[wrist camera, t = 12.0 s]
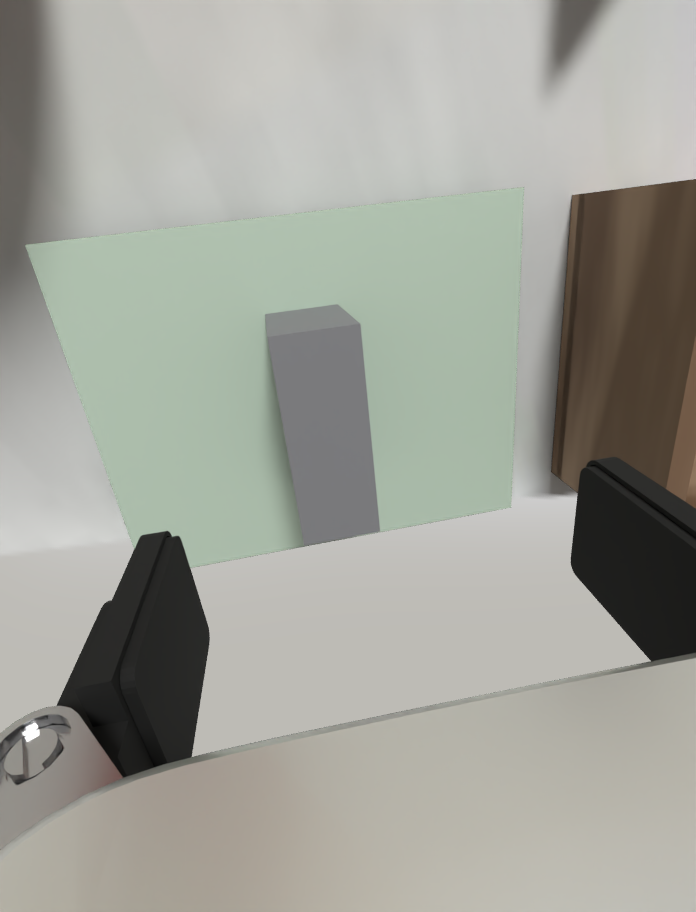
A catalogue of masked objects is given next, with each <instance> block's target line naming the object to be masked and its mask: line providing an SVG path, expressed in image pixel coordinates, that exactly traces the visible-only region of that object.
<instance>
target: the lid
mask: <svg viewBox="0 0 696 912" xmlns="http://www.w3.org/2000/svg"><path fill="white" fill-rule="evenodd" d="M523 200H524V187H520V188H512V189H503V190H494V191H486V192H477V193H468V194H460V195H451V196H442V197H434V198H425V199H416V200H408V201H399V202H390V203H382V204H373V205H364V206H356V207H347V208H338V209H330V210H321V211H312V212H304V213H295V214H287V215H278V216H269V217H261V218H252V219H243V220H235V221H226V222H217V223H209V224H200V225H191V226H183V227H174V228H165V229H157V230H148V231H139V232H131V233H122V234H113V235H105V236H96V237H87V238H79V239H70V240H61V241H53V242H44V243H35V244H27V245H25V246H26V249H27V252H28V255H29V257H30V260H31V263H32V266H33V269H34V271H35V274H36V277H37V280H38V283H39V285H40V288H41V291H42V294H43V296H44V299H45V302H46V305H47V308H48V310H49V313H50V316H51V319H52V322H53V324H54V327H55V330H56V333H57V335H58V338H59V341H60V344H61V347H62V349H63V352H64V355H65V358H66V361H67V363H68V366H69V369H70V372H71V374H72V377H73V380H74V383H75V386H76V388H77V391H78V394H79V397H80V400H81V402H82V405H83V408H84V411H85V413H86V416H87V419H88V422H89V425H90V427H91V430H92V433H93V436H94V439H95V441H96V444H97V447H98V450H99V452H100V455H101V458H102V461H103V464H104V466H105V469H106V472H107V475H108V478H109V480H110V483H111V486H112V489H113V491H114V494H115V497H116V500H117V503H118V505H119V508H120V511H121V514H122V517H123V519H124V522H125V525H126V528H127V530H128V533H129V536H130V539H131V542H132V544H133V547H134V549H135V547H136V545H137V542H138V540H139V538H140V536H141V535H145V534H151V533H158V532H164V531H169V532H170V533H171V535H172V537H173V536H179V537H180V538H181V541H182V543H183V547H184V550H185V553H186V556H187V560H188V563H189V566H190V568H192V567H198V566H203V565H209V564H214V563H219V562H225V561H230V560H235V559H240V558H246V557H251V556H256V555H261V554H267V553H272V552H278V551H282V550H288V549H293V548H298V547H304V546H309V545H315V544H320V543H325V542H330V541H335V540H341V539H346V538H352V537H357V536H362V535H368V534H373V533H378V532H384V531H389V530H394V529H399V528H405V527H410V526H416V525H421V524H426V523H431V522H437V521H442V520H447V519H452V518H458V517H463V516H469V515H474V514H479V513H484V512H490V511H495V510H500V509H506V508H511V497H512V472H513V447H514V422H515V398H516V373H517V348H518V324H519V299H520V274H521V249H522V225H523Z"/></svg>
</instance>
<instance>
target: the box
mask: <svg viewBox="0 0 696 912" xmlns="http://www.w3.org/2000/svg"><path fill="white" fill-rule="evenodd" d="M609 457H617V458H619V459H621V460H623V461H624V462H626V463H627V464H629V465H630V466H632V467H633V468H635V469H636V470H638V471H639V472H641V473H642V474H644V475H645V476H647V477H648V478H650V479H652V480H653V481H655V482H656V483H658V484H659V485H661V486H662V487H664V488H665V489H667V490H668V491H670V492H671V493H673V494H674V495H676V496H677V497H679V498H681V499H682V500H684V501H685V502H687V503H688V504H690V505H691V506H693V507H694V508H696V179H694V180H686V181H678V182H671V183H663V184H655V185H648V186H640V187H632V188H625V189H617V190H609V191H601V192H594V193H586V194H578V195H572V207H571V220H570V233H569V246H568V259H567V272H566V286H565V299H564V312H563V325H562V338H561V351H560V364H559V377H558V390H557V403H556V417H555V430H554V443H553V456H552V469H551V472H552V473H553V474H555V475H556V476H557V477H558V478H560V479H561V480H562V481H563V482H565V483H566V484H567V485H568V486H570V487H571V488H572V489H573V490H575V491H576V492H577V493H578V487H579V478H580V472H581V470H582V469H583V468H586V465H587V463H588V462H589V461H591V460H597V459H603V458H609Z"/></svg>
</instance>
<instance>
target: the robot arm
mask: <svg viewBox="0 0 696 912" xmlns="http://www.w3.org/2000/svg"><path fill="white" fill-rule="evenodd" d="M571 566H572V569H573V571H574V573H575V575H576V576H577V577H578V578H579V580H580V581H581V582H582V583H583V584H584V585H585V586H586V588H587V589H588V590H589V591H590V592H591V593H592V594H593V596H594V597H595V598H596V599H597V600H598V601H599V602H600V603H601V605H602V606H603V607H604V608H605V609H606V610H607V611H608V612H609V614H610V615H611V616H612V617H613V618H614V619H615V620H616V622H617V623H618V624H619V625H620V626H621V627H622V629H623V630H624V631H625V632H626V633H627V634H628V635H629V636H630V638H631V639H632V640H633V641H634V642H635V643H636V644H637V646H638V647H639V648H640V649H641V650H642V651H643V652H644V654H645V655H646V656H647V657H648V658H649V659H650V660H651V662H646V663H641V664H636V665H631V666H625V667H620V668H615V669H610V670H605V671H600V672H595V673H590V674H584V675H580V676H575V677H570V678H564V679H559V680H554V681H549V682H545V683H539V684H534V685H529V686H525V687H519V688H515V689H509V690H505V691H500V692H494V693H490V694H485V695H480V696H475V697H470V698H465V699H460V700H455V701H450V702H445V703H440V704H435V705H430V706H425V707H421V708H416V709H411V710H406V711H401V712H396V713H392V714H387V715H382V716H377V717H373V718H368V719H363V720H358V721H354V722H349V723H344V724H339V725H334V726H329V727H324V728H320V729H315V730H310V731H306V732H301V733H296V734H291V735H287V736H282V737H277V738H273V739H268V740H264V741H259V742H255V743H250V744H246V745H241V746H237V747H232V748H228V749H224V750H220V751H215V752H211V753H206V754H202V755H198V756H195V757H191V756H192V750H193V744H194V737H195V731H196V724H197V718H198V712H199V706H200V699H201V693H202V687H203V680H204V674H205V667H206V661H207V655H208V648H209V638H210V637H209V628H208V624H207V621H206V618H205V615H204V611H203V609H202V605H201V602H200V599H199V595H198V592H197V589H196V586H195V582H194V579H193V576H192V573H191V569H190V566H189V563H188V560H187V556H186V553H185V550H184V547H183V543H182V541H181V538H180V537H179V536H173V537H172V535H171V533H170V532H169V531H164V532H158V533H151V534H145V535H141V536H140V538H139V540H138V542H137V545H136V547H135V549H134V551H133V554H132V556H131V558H130V561H129V563H128V565H127V568H126V570H125V572H124V574H123V577H122V579H121V581H120V583H119V586H118V588H117V590H116V592H115V595H114V597H113V599H112V601H108V602H106V603H105V604H104V605H103V607H102V608H101V610H100V612H99V615H98V617H97V619H96V621H95V623H94V625H93V627H92V630H91V632H90V634H89V636H88V638H87V641H86V643H85V645H84V647H83V649H82V651H81V654H80V656H79V658H78V660H77V662H76V664H75V667H74V669H73V671H72V673H71V675H70V678H69V680H68V682H67V684H66V686H65V688H64V691H63V693H62V695H61V697H60V699H59V702H58V704H57V706H54V707H46V708H43V709H40V710H38V711H34V712H32V713H30V714H28V715H26V716H24V717H23V718H21V719H19V720H17V721H16V722H14V723H13V724H12V725H10V726H9V727H8V728H6V729H5V730H4V731H3V732H2V733H0V912H696V508H694V507H693V506H691V505H690V504H688V503H687V502H685V501H684V500H682V499H681V498H679V497H677V496H676V495H674V494H673V493H671V492H670V491H668V490H667V489H665V488H664V487H662V486H661V485H659V484H658V483H656V482H655V481H653V480H652V479H650V478H648V477H647V476H645V475H644V474H642V473H641V472H639V471H638V470H636V469H635V468H633V467H632V466H630V465H629V464H627V463H626V462H624V461H623V460H621V459H619V458H617V457H609V458H603V459H597V460H591V461H589V462H588V463H587V465H586V468H583V469H582V470H581V472H580V478H579V487H578V497H577V506H576V516H575V526H574V535H573V543H572V553H571Z"/></svg>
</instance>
